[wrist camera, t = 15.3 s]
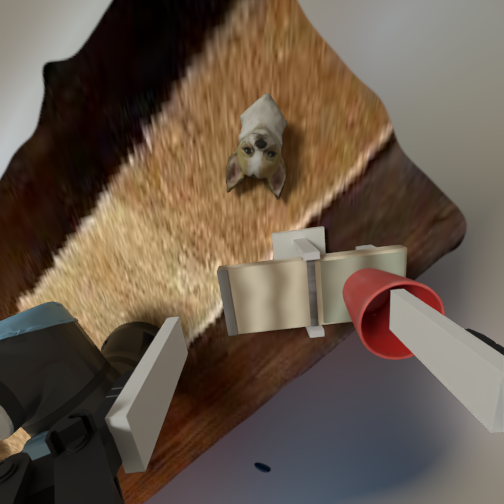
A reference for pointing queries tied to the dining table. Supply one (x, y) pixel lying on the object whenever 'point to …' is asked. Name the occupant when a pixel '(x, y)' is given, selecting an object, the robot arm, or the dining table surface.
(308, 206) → the dining table surface
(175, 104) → the dining table surface
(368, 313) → the flower pot
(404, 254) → the beam
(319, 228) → the stand
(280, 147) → the ceramic sculpture
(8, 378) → the robot arm
